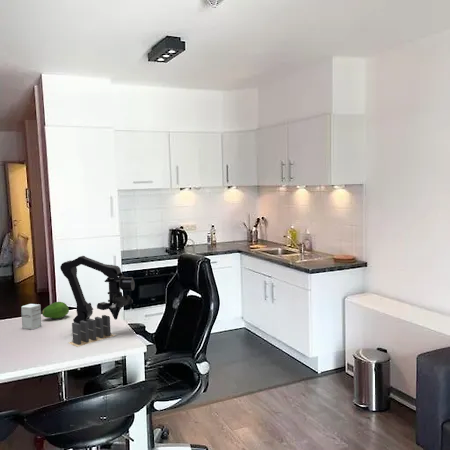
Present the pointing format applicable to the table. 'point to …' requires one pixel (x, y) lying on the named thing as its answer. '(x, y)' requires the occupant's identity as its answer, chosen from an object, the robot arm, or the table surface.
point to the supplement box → (31, 316)
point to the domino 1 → (76, 333)
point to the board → (91, 340)
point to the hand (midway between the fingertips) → (115, 319)
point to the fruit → (55, 310)
